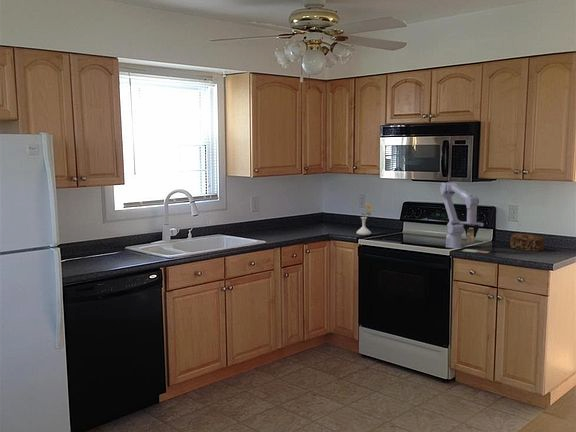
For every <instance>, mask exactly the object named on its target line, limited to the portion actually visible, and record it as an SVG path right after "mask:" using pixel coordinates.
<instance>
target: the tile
mask: <svg viewBox="0 0 576 432" xmlns="http://www.w3.org/2000/svg"><path fill="white" fill-rule="evenodd" d="M490 252H491V251H488V250H480V251H478V252H477V253H483V254H488V253H490Z"/></svg>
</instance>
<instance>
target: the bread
mask: <svg viewBox="0 0 576 432" xmlns="http://www.w3.org/2000/svg"><path fill="white" fill-rule="evenodd" d="M509 243H510V246H509V247H510V249H517V250H523V251H528V250H529V251H530V252H531V251H533V252H540V251H544V249H545V244H546V242H545V238H543V237H542V236H540V235H534V234H530V233H518V232H516V233H513V234H511V236H510V239H509Z"/></svg>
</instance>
